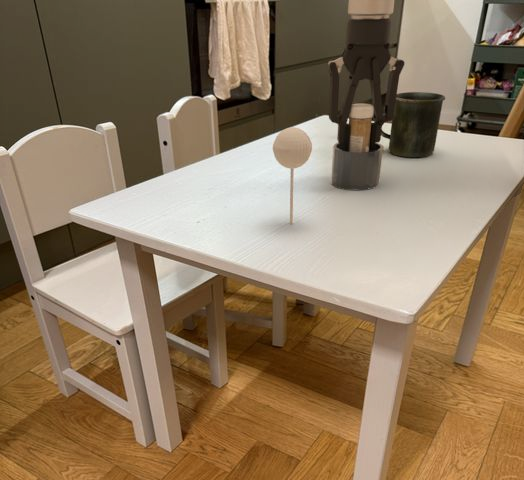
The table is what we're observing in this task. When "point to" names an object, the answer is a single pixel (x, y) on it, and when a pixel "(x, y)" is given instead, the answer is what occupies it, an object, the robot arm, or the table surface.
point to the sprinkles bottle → (360, 127)
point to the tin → (356, 168)
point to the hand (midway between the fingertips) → (356, 160)
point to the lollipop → (292, 153)
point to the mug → (414, 124)
